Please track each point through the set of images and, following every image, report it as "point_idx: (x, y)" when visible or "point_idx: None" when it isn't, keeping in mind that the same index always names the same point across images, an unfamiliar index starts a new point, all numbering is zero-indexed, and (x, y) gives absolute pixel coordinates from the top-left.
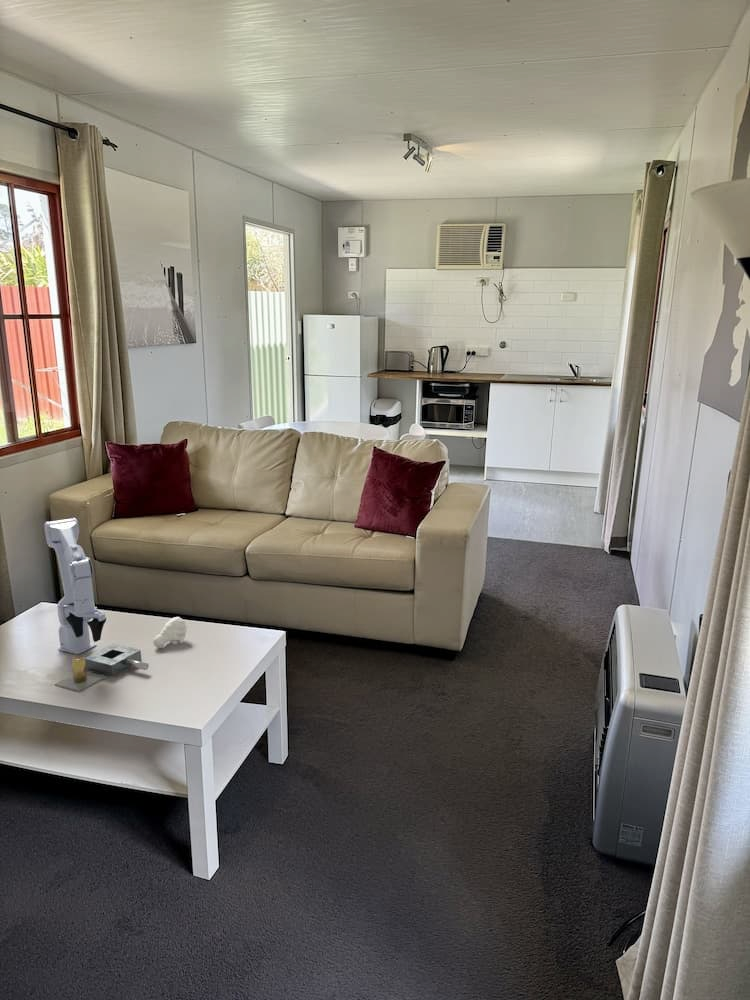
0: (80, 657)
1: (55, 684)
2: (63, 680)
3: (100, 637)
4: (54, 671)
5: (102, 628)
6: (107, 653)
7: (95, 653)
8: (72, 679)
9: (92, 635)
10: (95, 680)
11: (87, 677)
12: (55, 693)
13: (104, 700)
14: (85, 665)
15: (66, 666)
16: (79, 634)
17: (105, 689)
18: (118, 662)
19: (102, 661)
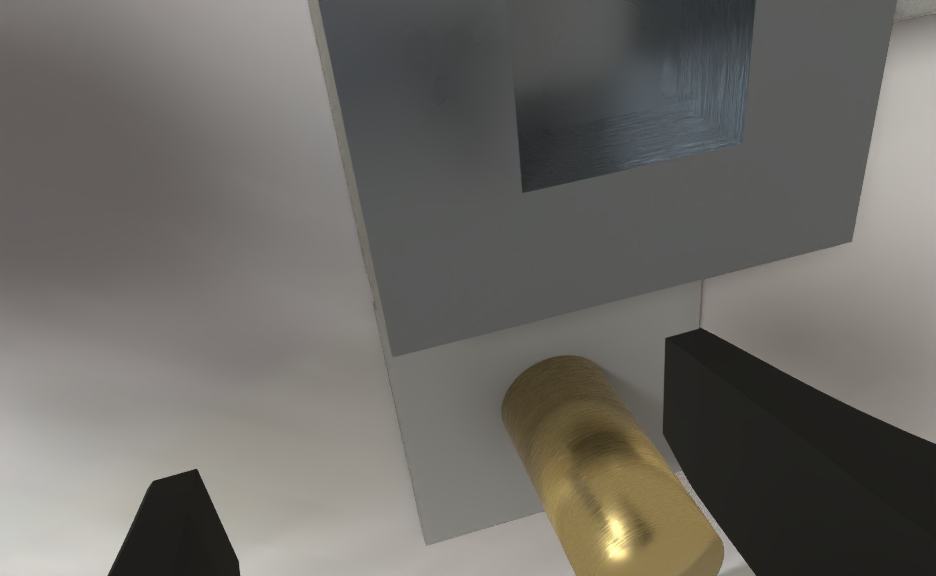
0: (653, 554)
1: (428, 543)
2: (423, 488)
3: (730, 349)
4: (117, 469)
5: (933, 446)
6: (504, 46)
7: (391, 189)
8: (477, 438)
9: (745, 554)
10: (680, 324)
11: (567, 344)
12: (542, 563)
13: (930, 396)
14: (662, 460)
15: (84, 354)
16: (219, 566)
17: (840, 326)
18: (863, 139)
19: (685, 257)
